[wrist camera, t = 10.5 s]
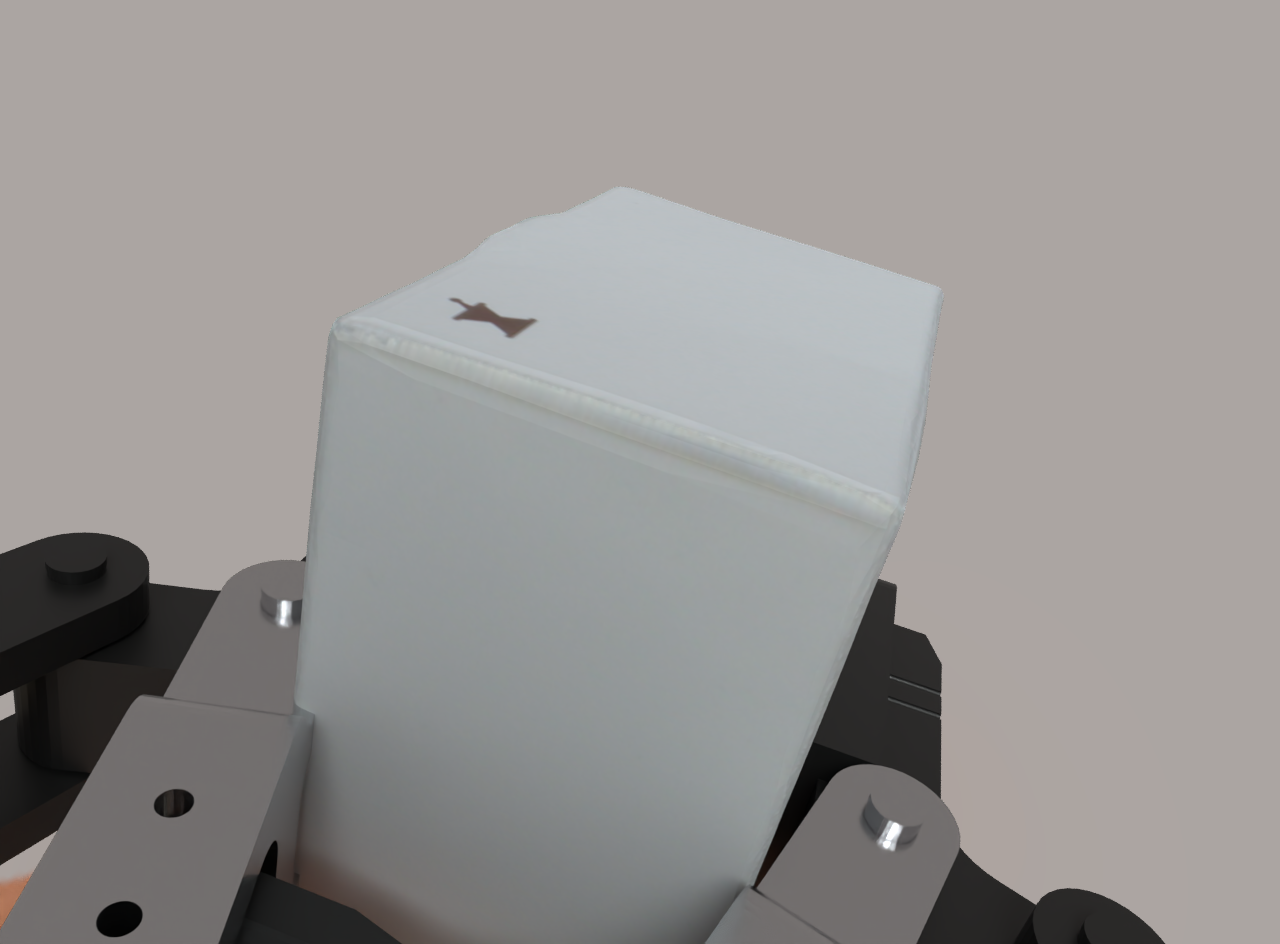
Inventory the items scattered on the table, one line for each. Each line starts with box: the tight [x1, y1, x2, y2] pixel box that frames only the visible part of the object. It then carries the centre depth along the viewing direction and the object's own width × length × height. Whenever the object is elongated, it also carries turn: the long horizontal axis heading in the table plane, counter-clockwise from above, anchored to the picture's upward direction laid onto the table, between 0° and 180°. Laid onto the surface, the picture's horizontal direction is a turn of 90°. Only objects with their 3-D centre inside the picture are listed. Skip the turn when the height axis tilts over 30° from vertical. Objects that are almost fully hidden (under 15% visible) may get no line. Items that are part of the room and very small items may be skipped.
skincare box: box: [294, 187, 944, 944], centre depth 12 cm, size 6×4×12 cm
